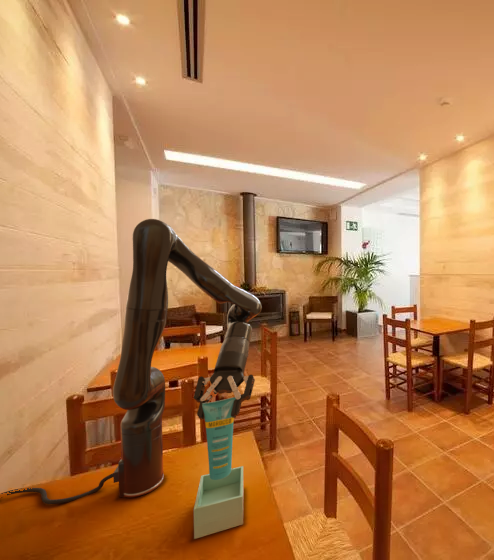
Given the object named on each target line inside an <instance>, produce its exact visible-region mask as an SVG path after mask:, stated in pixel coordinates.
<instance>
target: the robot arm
mask: <svg viewBox="0 0 494 560" xmlns="http://www.w3.org/2000/svg"><path fill="white" fill-rule="evenodd" d="M131 237H132V238H131V241H132V271H131V275H130V281H129V284H128V285H129V286H128V290H127V297H126V303H125V309H124V310H125V312H124V319H123V320H124V321H123V332H122V339H121V350H120V357H119V362H118V366H117V371H116V373H115V374H116V375H115V379H114V382H113V387H112V398H113V401H114V403H115V404H116V406H117V407H119V408H120V409H122V410H126V412H125V414H124V415H123V417H122V419H121V421H120V428H119V429H120V430H119V431H120V460H119V461H118V464H117V467H116V468H115V470H114V471H113V472H112V473H111V474H109V475H106V476H105V477H103V478H102V479H101V480H100V481H99V482H98V486H96V487H95V488H93V489H91V490H89V491H87V492H83V493H81V494H78V495H74V496H70V497H66V498H58V499H57V498H56V499H49V498H48V494H47V493H48V492H47V491H46V489H45V488H43V487H26V488H27V490H25V489H24V490H23V491H20V490H19V491H15V492H10V491H13V490H18V489H19V488H15V489H11V490H7V491H4V492H2V493H0V494H3V493H7V492H9V493H11V494H7V496H10V495H15V494H22V493H23V494H25V493H39V494H40V497H41V501H42V503H43V504H45V505H59V504H60V505H61V504H65V503H69V502H73V501H76V500H78V499H82V498H83V497H86V496H89V495H92V494H94V493H97V492H98V491H100V490H101V489H102V488H103V487H104V484H105V482H106V481H108V480H110V479H113V483H115V484H116V483H118V498H128V499H129V498H131V499H132V498H137V497H142V496H144V495H147V494H149V493H151V492H153V491H154V490H156V489H158V488H159V487H160V486H161V485H162V483H163V482H164V480H165V477H164V476H165V475H164V446H163V415H164V411H165V408H166V379H165V376H164V373H163V372H162V371H161V370H160V369H159V368H157V367H155V366H152V361H153V356H154V353H155V351H156V348H157V346H158V344H159V342H160V340H161V337H162V335H163V333H164V330H165V327H166V324H167V320H168V319H167V318H168V308H169V290H168V289H169V288H168V281H167V280H168V279H167V272H168V271H167V269H168V264H169V263H170V264H171V265H173V266H174V267H176V268H177V269H178V270H179V271H180V272H182V274H184V276H186V277H187V278H188V279H189V280H190V281H191V282H192V283H193V284H194V285H195V286H196V287H197V288H198V289H200V290H201V291H202V292H204V294H206V295H207V296H208V297H209V298H211V300H213V301H214V302H216V303H218V304H226V303H230V304H232V305H231V307H230V308H229V309H228V311H227V315H226V328H227V329H226V332H225V335H224V338H223V342H222V343H221V346H220V348H219V352H218V355H217V359H216V362H215V365H214V370H213V373H212V374H211V375H210V377H204V376H199V377H198V378H197V383H196V386H195V391H194V393H193V399H194V401H196V402H197V403H199V405H198V409H197V411H196V415H197V417H198V419H199V420H200V421H202V420H204V421H205V418H204V412H203V407H202V403H209V402H212V399H214V398H216V397H217V395H218V394H232V393H233V395H234V397H235V398H236V400H234V403H233V407H232V412H231V417H232V418H234V419H236V418H237V416H239V414H240V412H241V407H242V403H243V402H244V401H249V400H251V397H252V393H253V389H254V386H255V382H256V379H255V377H254V375H253V374H249V375H245V370H246V365H247V362H248V358H249V353H250V343H251V339H252V335H253V334H252V333H253V327H252V325H251V324H250V323H249V321H251V320H253V318H255V317H257V315H259V314H260V313H261V312H262V309H263V306H262V303H261V301H260V300H259V298H258V297H257V296H256V295H254V294H253V293H251V292H249V291H247V290H245V289H243V288H241V287H239V286H237V285H234V284H233V283H232V282H231V281H230V280H228V279H227V278H226V277H225V276H223V274H221V273H220V272H219V271H218V270H216V269H215V268H214V267H212V266H211V265H209V264H208V263H207V262H205V261H204V260H203V259H202V258H200V257H199V256H198V255H197V254H196V253H195V252H194V251H192V250H191V249H190V248H189V247H188V246H187V244H186V243H185V242H184V241H183V240H182V239H181V238H180V237H179V235H178V234H177V233H176V231H175V230H174V228H173V227H172V226H171V225H170V224H168V223H167V222H165V221H163V220H160V219H157V218H146V219H143V220H141V221H139V222H138V223H137V224H136V225H135V226H134V229H133V230H132V235H131ZM243 383H245V387H244V390H243V393H242V394H241V392H240V390H239V387H240V386H241V385H242V384H243ZM209 384H211V385H210V386H209V387H208V385H209ZM206 387H208V388H207V389H206ZM205 390H206V392H205ZM29 488H30V489H29ZM31 488H32V489H31ZM2 498H3V497H1V498H0V499H2Z"/></svg>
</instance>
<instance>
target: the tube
mask: <svg viewBox="0 0 494 560" xmlns="http://www.w3.org/2000/svg"><path fill="white" fill-rule="evenodd" d="M234 400H236V398H235V396H234V397H229V398H224V399H221V400H216V401H210V402H209V403H202V407H203V412H204V418H205V419H204V424H205V434H206V445H207V456H208V458H207V459H208V474H209V475H210V478H211V479H212V480H221V479H223V478H225V477H227V476H228V475H229V474H230V473H231V469H232V464H233V462H232V461H233V440H234V439H233V438H234V421H235V418H232V417H231V412H232V407H233V403H234Z"/></svg>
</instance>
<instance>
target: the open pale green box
mask: <svg viewBox="0 0 494 560" xmlns="http://www.w3.org/2000/svg"><path fill="white" fill-rule="evenodd" d="M244 483H245V482H244V465H240V466H237V467H231V473H230V474H229V475H228V476H227V477H225V478H223V479H221V480H212V479H211V478H210V475H209V473H207V474H202V475H200V479H199V483H198V484H199V485H198V488H197V493H196V498H195V500H194V501H195V502H194V507H193V540H196V539H199V538H203V537H206V536H209V535H213V534H215V533H219V532H222V531H226V530H228V529H232V528H235V527H238V526H242V525H244V491H245V489H244V488H245V487H244V485H245V484H244Z"/></svg>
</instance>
